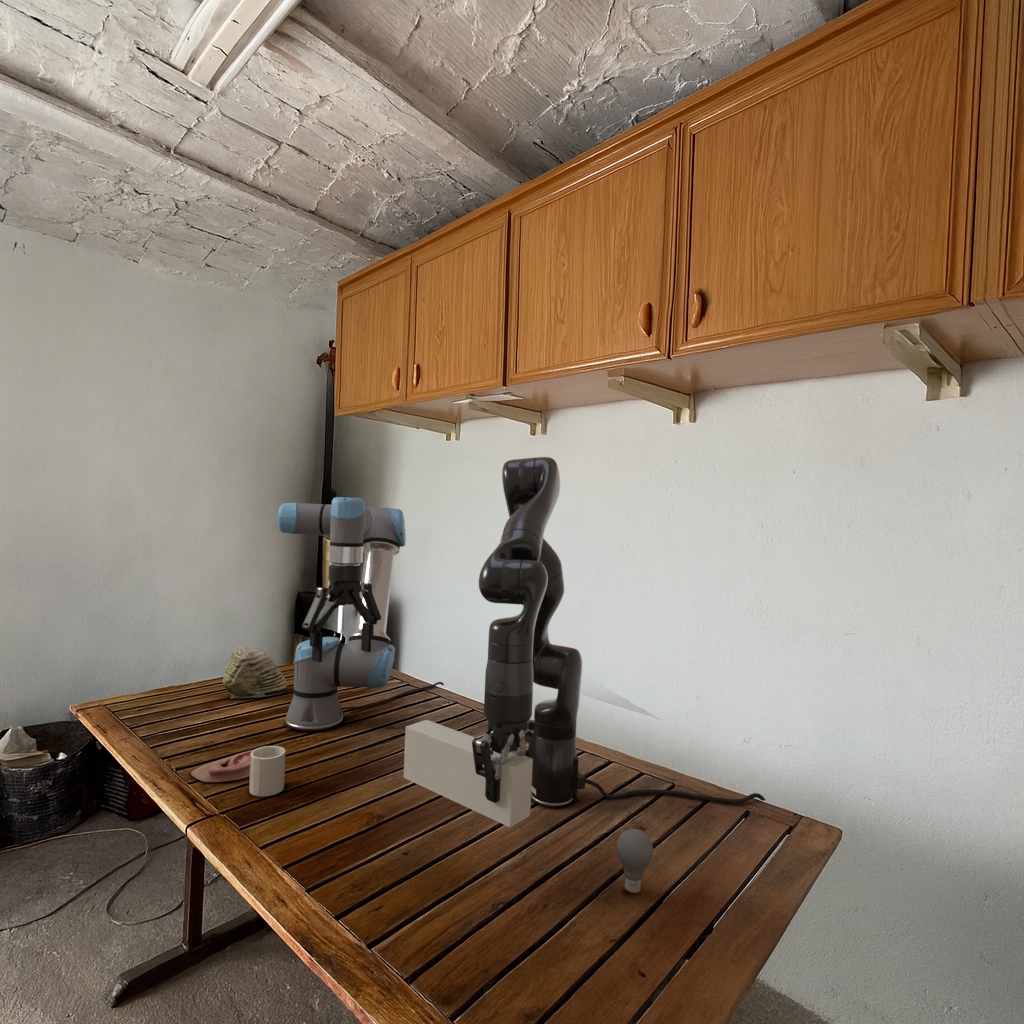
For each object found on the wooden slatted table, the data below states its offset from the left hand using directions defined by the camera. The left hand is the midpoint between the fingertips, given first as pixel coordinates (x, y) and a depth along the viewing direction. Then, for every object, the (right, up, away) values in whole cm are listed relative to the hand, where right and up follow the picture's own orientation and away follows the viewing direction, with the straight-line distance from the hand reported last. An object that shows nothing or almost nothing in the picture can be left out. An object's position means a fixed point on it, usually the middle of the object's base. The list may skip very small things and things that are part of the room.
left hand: (342, 656), depth 146 cm
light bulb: (+59, -30, -41) cm, 78 cm away
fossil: (-41, -24, +52) cm, 70 cm away
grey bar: (+31, -14, -42) cm, 54 cm away
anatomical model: (-25, -26, -3) cm, 36 cm away
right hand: (+38, -11, -47) cm, 62 cm away
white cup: (-14, -26, -10) cm, 31 cm away
